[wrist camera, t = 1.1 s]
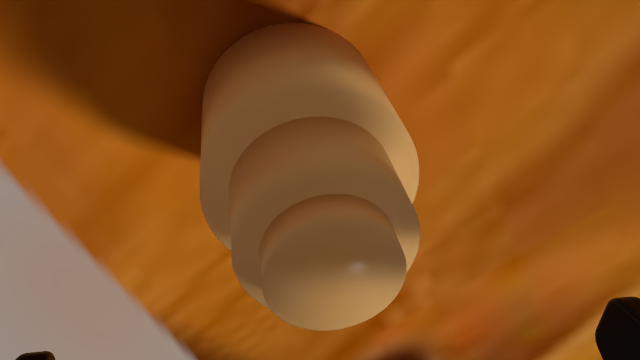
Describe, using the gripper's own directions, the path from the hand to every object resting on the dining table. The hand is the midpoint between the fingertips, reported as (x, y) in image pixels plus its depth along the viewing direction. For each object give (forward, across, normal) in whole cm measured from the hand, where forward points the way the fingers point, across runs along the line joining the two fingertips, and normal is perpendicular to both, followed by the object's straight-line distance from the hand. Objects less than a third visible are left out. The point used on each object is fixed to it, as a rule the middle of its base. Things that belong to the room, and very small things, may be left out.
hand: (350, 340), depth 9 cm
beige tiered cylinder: (+8, 0, 0) cm, 8 cm away
